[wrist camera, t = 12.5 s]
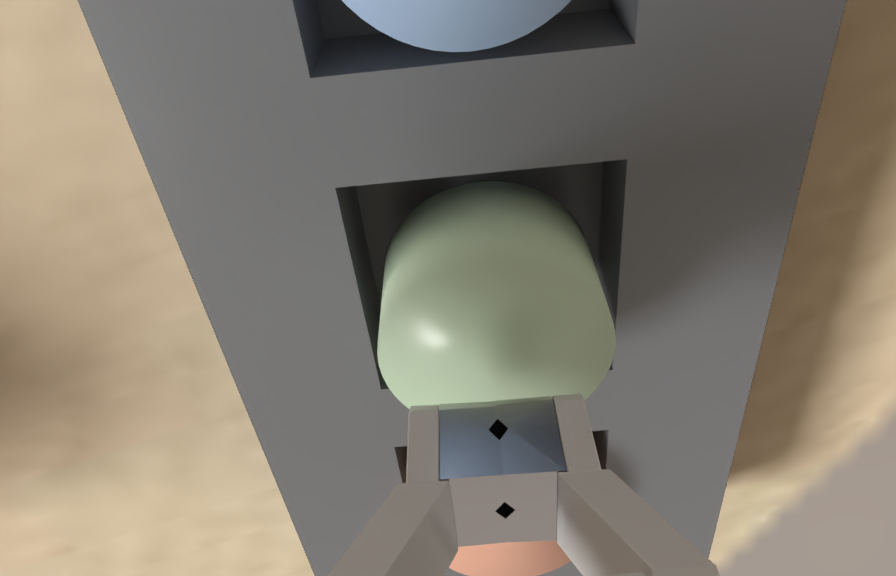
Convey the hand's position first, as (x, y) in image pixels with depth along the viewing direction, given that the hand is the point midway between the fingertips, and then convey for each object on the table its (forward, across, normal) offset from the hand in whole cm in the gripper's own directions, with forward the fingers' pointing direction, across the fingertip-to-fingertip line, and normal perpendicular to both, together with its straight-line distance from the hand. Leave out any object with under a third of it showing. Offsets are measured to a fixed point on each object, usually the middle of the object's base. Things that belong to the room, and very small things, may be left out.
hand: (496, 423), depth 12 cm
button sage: (+4, 0, -1) cm, 4 cm away
